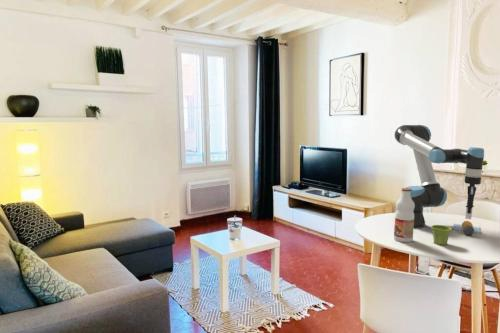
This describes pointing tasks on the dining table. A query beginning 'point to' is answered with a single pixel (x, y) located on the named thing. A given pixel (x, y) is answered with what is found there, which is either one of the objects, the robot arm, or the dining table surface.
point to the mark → (459, 227)
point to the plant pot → (440, 234)
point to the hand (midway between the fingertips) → (468, 218)
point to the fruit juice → (404, 217)
